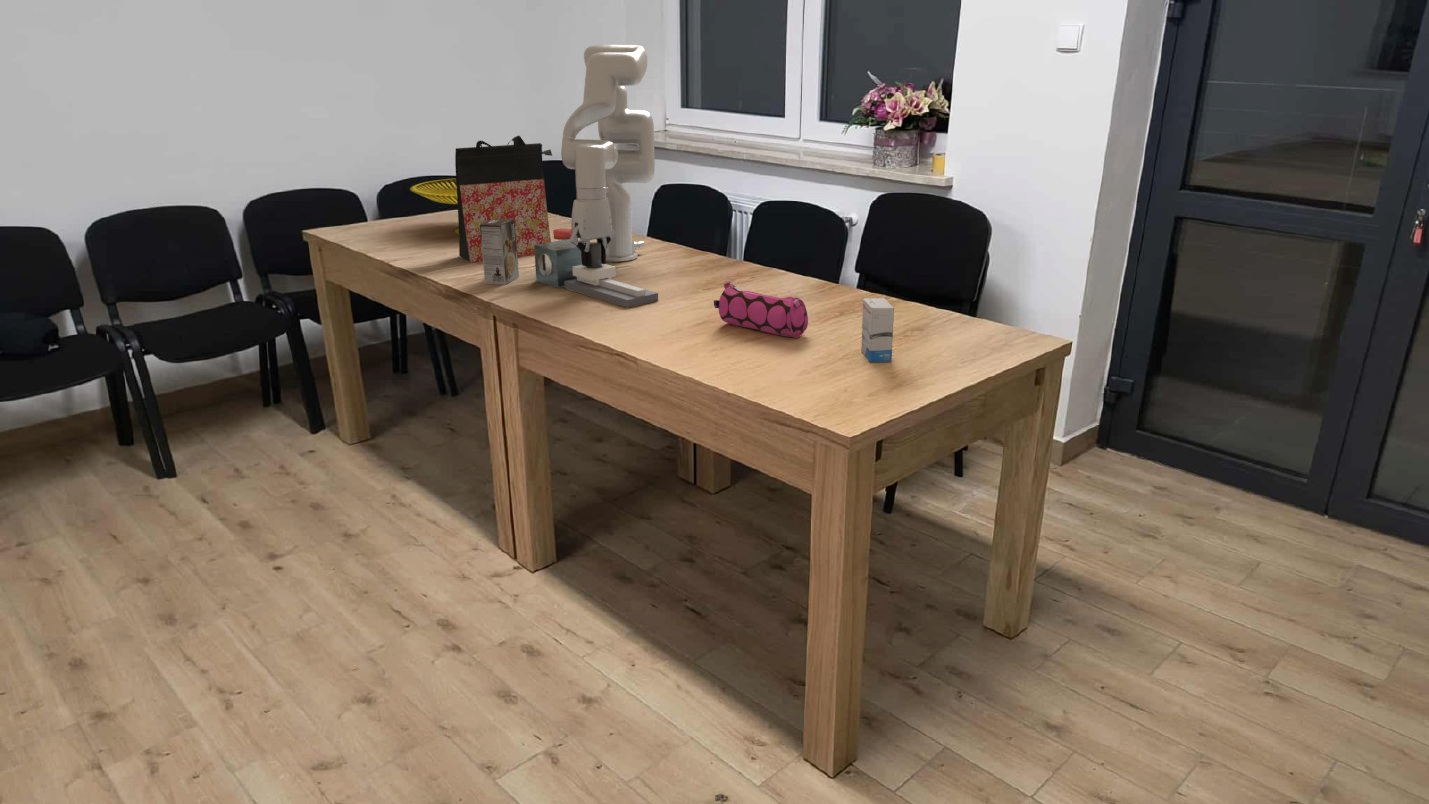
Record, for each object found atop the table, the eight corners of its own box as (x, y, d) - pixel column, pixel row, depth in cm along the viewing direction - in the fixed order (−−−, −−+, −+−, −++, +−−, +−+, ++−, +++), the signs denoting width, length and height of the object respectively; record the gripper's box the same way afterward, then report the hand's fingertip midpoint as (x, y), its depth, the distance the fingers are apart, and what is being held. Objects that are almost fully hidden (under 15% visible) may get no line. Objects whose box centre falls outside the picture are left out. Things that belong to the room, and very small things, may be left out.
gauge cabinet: (572, 274, 274) (570, 238, 270) (594, 280, 267) (592, 244, 264) (533, 281, 265) (531, 245, 262) (555, 288, 259) (553, 251, 255)
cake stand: (497, 215, 356) (494, 173, 350) (561, 232, 328) (558, 186, 323) (392, 229, 330) (387, 184, 325) (451, 249, 303) (447, 200, 297)
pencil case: (711, 327, 227) (712, 285, 224) (735, 317, 235) (735, 276, 231) (790, 344, 216) (792, 299, 212) (812, 333, 223) (814, 290, 220)
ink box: (892, 362, 204) (896, 308, 200) (868, 363, 204) (871, 308, 199) (882, 349, 212) (885, 297, 208) (859, 350, 212) (862, 297, 207)
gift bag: (473, 264, 284) (462, 140, 271) (457, 255, 295) (446, 135, 282) (567, 253, 298) (561, 134, 286) (548, 244, 310) (542, 130, 297)
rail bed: (594, 282, 266) (594, 269, 264) (658, 300, 248) (657, 287, 247) (564, 288, 259) (563, 275, 258) (627, 307, 242) (627, 294, 240)
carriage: (597, 276, 262) (595, 239, 259) (616, 281, 257) (615, 244, 253) (573, 281, 257) (571, 243, 254) (591, 286, 252) (590, 248, 248)
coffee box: (497, 275, 272) (493, 217, 266) (519, 276, 271) (515, 218, 265) (484, 283, 263) (479, 224, 258) (506, 285, 262) (502, 225, 256)
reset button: (565, 235, 266) (564, 227, 265) (576, 237, 262) (575, 230, 262) (549, 237, 262) (549, 230, 262) (561, 240, 259) (560, 233, 258)
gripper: (607, 188, 257) (610, 257, 263) (555, 195, 246) (559, 267, 252) (626, 192, 252) (628, 262, 258) (573, 199, 241) (576, 272, 247)
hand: (593, 264), depth 255 cm, fingers closed on carriage, 4 cm apart
